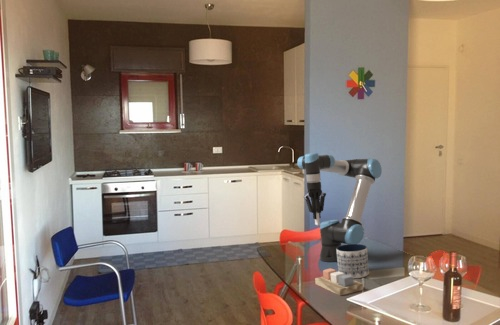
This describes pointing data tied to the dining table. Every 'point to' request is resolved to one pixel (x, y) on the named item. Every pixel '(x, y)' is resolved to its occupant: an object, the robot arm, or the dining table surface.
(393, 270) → the dining table surface
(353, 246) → the planter
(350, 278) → the key
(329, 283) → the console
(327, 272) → the key
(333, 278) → the key mid
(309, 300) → the dining table surface
